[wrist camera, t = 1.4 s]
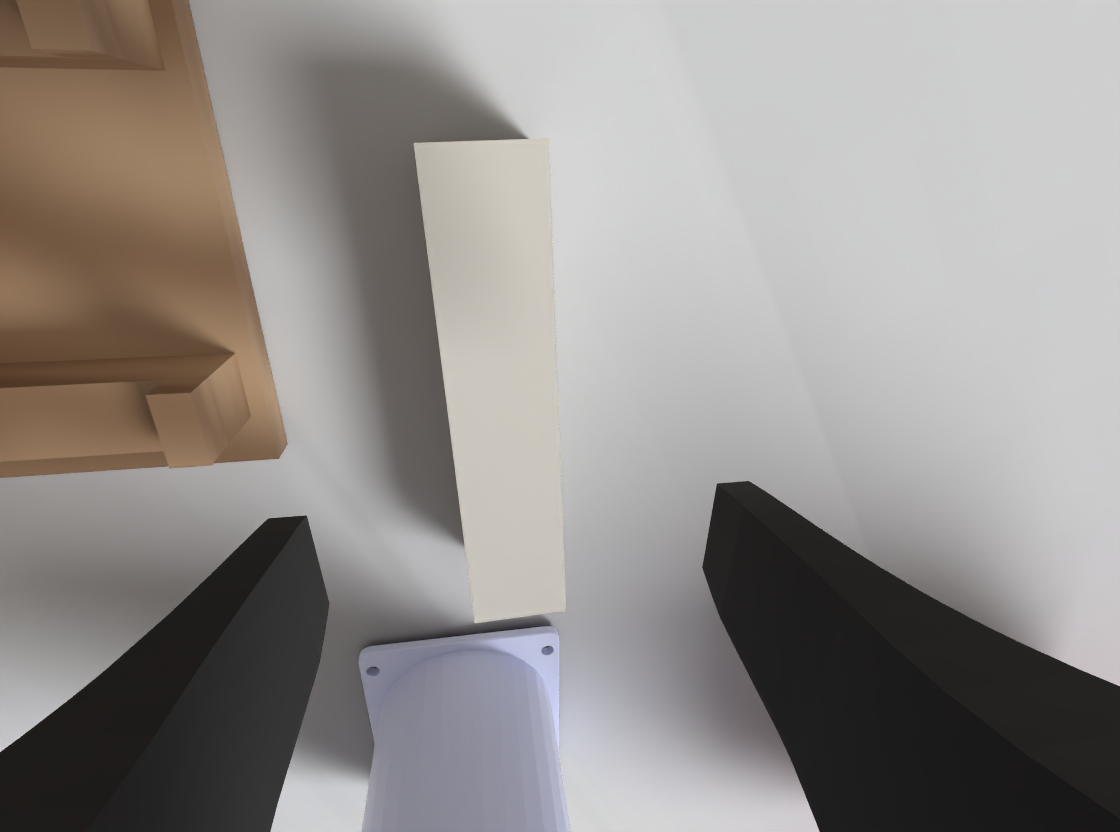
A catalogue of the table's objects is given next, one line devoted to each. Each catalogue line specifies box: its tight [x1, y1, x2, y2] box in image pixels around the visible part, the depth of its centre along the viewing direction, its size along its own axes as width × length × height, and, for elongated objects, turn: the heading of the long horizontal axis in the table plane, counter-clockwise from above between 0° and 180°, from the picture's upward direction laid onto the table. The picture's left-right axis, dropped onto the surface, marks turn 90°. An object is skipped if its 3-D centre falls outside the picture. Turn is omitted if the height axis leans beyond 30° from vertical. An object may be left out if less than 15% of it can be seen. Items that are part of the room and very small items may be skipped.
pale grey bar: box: [413, 138, 566, 623], centre depth 17 cm, size 14×3×4 cm, turn 1°
